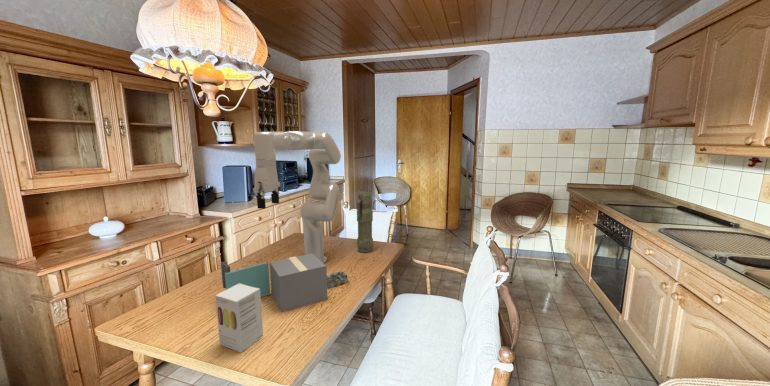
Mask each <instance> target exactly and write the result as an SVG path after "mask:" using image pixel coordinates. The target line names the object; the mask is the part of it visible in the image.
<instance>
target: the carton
mask: <svg viewBox="0 0 770 386" xmlns="http://www.w3.org/2000/svg"><path fill="white" fill-rule="evenodd" d="M327 273H328V272H327V265H326V264H325V263H323V262H321V261H320V260H319V259H318V258H317V257H316V256H315V255H314V254H313V253H312V254H307V255H305V254H303V255H297V256H295V255H294V256H291V257H288V258H282V259H277V260H273V261H269V278H270V293H271V295H272V297H273V299H274V301H275V302H276V304H277V306H278V308H279V310H280V311H281V313H284V312H286V311H290V310H293V309H297V308H301V307H304V306H308V305H311V304H315V303H319V302H323V301H325V300H328V288H327V275H328V274H327Z"/></svg>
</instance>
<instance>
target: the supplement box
mask: <svg viewBox="0 0 770 386" xmlns="http://www.w3.org/2000/svg"><path fill="white" fill-rule="evenodd" d="M261 298H262V297H261V295H260V289H259V288H255V287H251V286H247V285H243V284H240V283H239V284H237V285H235V286H233V287H231V288H229V289H227V290H226V289H225V290H223V291H220V292H219V293H217V294H216V295H215V305H216V314H217V315H216V316H217V317H216V318H217V327H218V338H219V341H218V342H219V345H221V346H223V347H225V348H227V349H231V350H232V351H235V352H238V353H243V352H244V351H245V350H247V349H248V348H249V347H251V346H252V345H254V344H255V343H256V342H258V340H260V339H261V338H263V337H264V331H263V330H264V329H263V327H264V325H263V314H262V299H261Z"/></svg>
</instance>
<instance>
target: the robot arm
mask: <svg viewBox="0 0 770 386" xmlns="http://www.w3.org/2000/svg"><path fill="white" fill-rule="evenodd" d="M253 142H254V143H253V144H254V155H255V157H254V158H255V170H254V187H253V188H252V191H253V194H254V196H255V199H256V204H257V206H256V207H257V209H263V210H264V209H266V208H267V207H266V198H265V197H266V194H268V193H271V194H270V195H271V197H270V198H271V203H272V204H280V189H281V182H280V181H279V178H278V177H279V176H278V172H277V171H278V169H277V158H276V157H277V156H276V155H277V154H276V151H284V150H285V151H286V150H289V151H305V150H309V151H308V159H309V162H310V165H311V166H312V178H311V182H310V185H309V189H308V196H309V197H308V198H310V199H311V200H314V201H305V202H303V203H302V205H301V207H300V215H301V219H302V224H303V225H302V226H303V227H302V229H303V244H304V245H303V246H304V247H303V248H304V255H307V254H312V253H313V254H314V255H315V256H316V257H317V258H318V259H319V260H320V261H321V262H323V263H324V264H325V263H326V262H327V261H328V260H327V259H328V258H327V257H326V256H325V254H324V234H323V233H324V232H323V231H324V229H323V224H322V223H323V222H325V223H326V222H327V223H330V222H332V221H333V220H334V218H335V216H336V212H337V208H338V204H339V200H340V195H341V193H340V192H341V191H340V187H339V185H338V184H337V183H336V182H329V181H330V172H329V170H328V167H326V165H337V164H338V163H340V161H341V156H342V155H341V151H340V150H339V149H340V148H338V145H337V144H336V142H335V140H334V139H333V137H332V136H331V135H330V134H329V132H326V131H302V130H301V131H300V130H299V131H298V130H295V131H294V130H293V131H257V132H255V133H254V135H253ZM321 222H322V223H321Z"/></svg>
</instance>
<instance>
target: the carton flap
mask: <svg viewBox="0 0 770 386" xmlns="http://www.w3.org/2000/svg"><path fill="white" fill-rule="evenodd" d="M220 267H221V268H220V269H221V278H222V288H223V289H225V290H227V289H229V288H231V287H233V286H235V285H237V284H239V283H240V284H243V285H247V286H251V287H255V288H259V289H260V295H261V298H262V297H265V296H267V295H271V282H270V268H269V262H267V261H266V262H262V263H259V264H255V265H250V266H247V267H244V268H240V269H236V270H233V271H231V267H230V265H229V264H228V261H222V262H220Z"/></svg>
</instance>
